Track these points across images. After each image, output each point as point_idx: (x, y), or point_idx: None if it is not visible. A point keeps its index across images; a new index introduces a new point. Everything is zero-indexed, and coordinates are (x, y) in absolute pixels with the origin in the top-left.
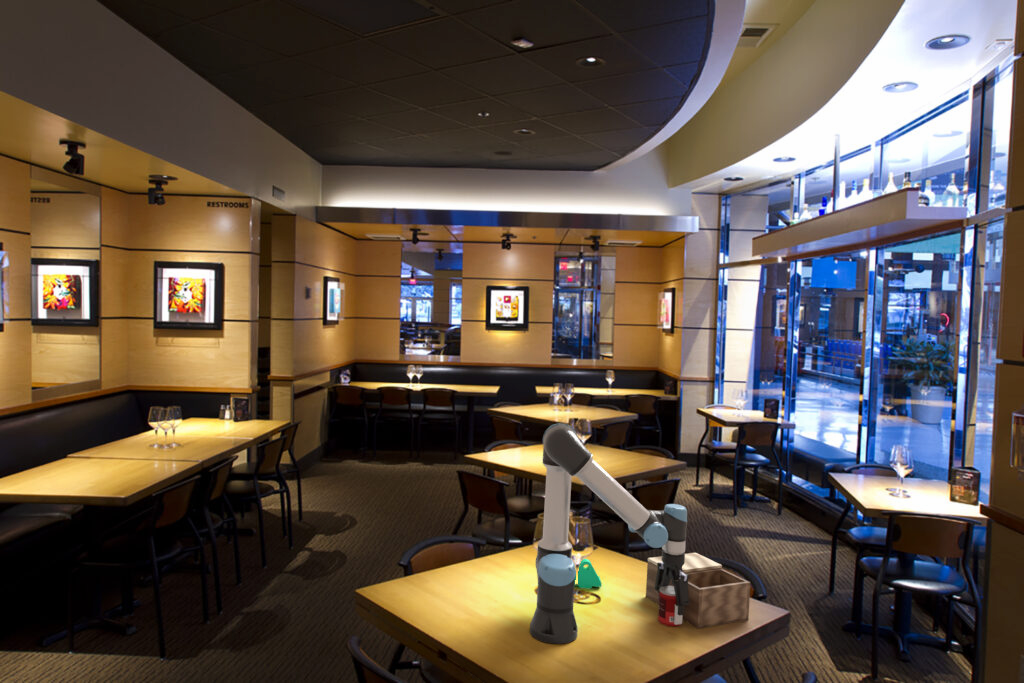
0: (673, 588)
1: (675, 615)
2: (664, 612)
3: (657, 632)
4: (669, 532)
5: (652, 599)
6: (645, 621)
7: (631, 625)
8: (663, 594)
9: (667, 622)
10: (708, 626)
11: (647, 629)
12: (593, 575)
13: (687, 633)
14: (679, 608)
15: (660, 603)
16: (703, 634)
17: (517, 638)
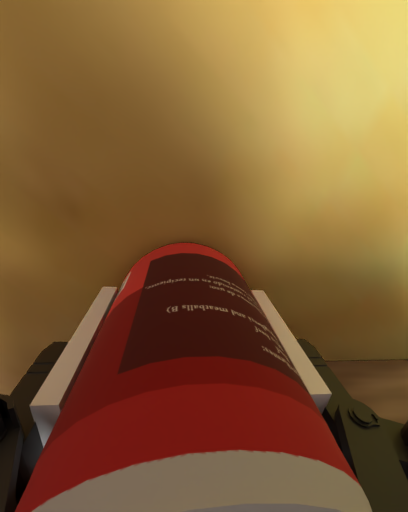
0: None
1: (87, 322)
2: (154, 277)
3: (85, 127)
4: None
5: (391, 364)
6: (252, 173)
7: (253, 6)
8: (163, 440)
9: (140, 260)
10: None
11: (149, 88)
12: None
13: (34, 295)
14: (23, 393)
15: (214, 306)
16: (10, 356)
17: None
